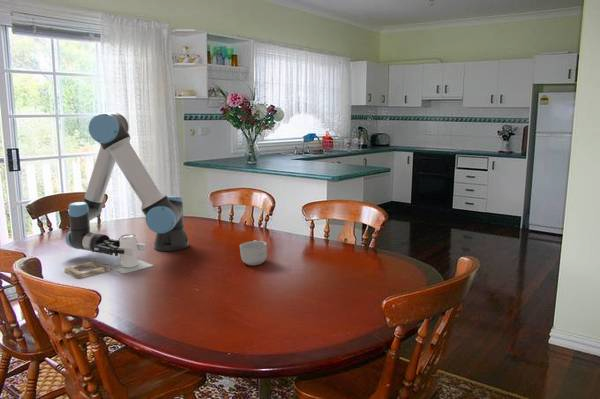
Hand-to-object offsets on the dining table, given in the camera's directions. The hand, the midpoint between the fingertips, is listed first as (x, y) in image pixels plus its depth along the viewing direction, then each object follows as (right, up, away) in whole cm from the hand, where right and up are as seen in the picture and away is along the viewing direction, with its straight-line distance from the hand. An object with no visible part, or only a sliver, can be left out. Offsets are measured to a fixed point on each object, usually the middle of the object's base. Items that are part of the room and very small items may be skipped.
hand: (138, 250), depth 192 cm
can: (-4, -7, +4) cm, 9 cm away
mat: (-4, -7, +4) cm, 9 cm away
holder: (-19, -8, -2) cm, 21 cm away
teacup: (+44, -6, +9) cm, 45 cm away
